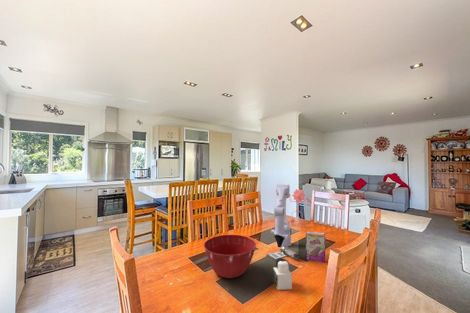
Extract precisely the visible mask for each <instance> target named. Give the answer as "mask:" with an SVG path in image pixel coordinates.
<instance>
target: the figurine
mask: <svg viewBox="0 0 470 313" xmlns="http://www.w3.org/2000/svg"><path fill="white" fill-rule="evenodd" d="M292 197H293V200H292V199H291V193H289V196H288V197H287V198H286V199H289V202H291V203H293V202H294V203H297V204H298V206H297V208H296V209H295V210H294V211H293V212H291V214H293V213H294V212H298V213H300V214H302V217H301V219H303V213H302V212H301V211H300V209H299V206H300V205H302V204H303V203H304V202H305V200H306V201H307V202H308V203H310V204H312V201H311V200H310V199H309V197H306V194H305V193H304V190H302V189H297V188H296V189H295V190H294V191H293V194H292ZM294 222H295V219H294V218H293V216H291V220H290V224H292V223H293V224H295V223H296V222H295V223H294ZM305 224H306V223H305V222H304V221H303V220H300V227H302V226H304V225H305ZM305 226H306V225H305Z"/></svg>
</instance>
